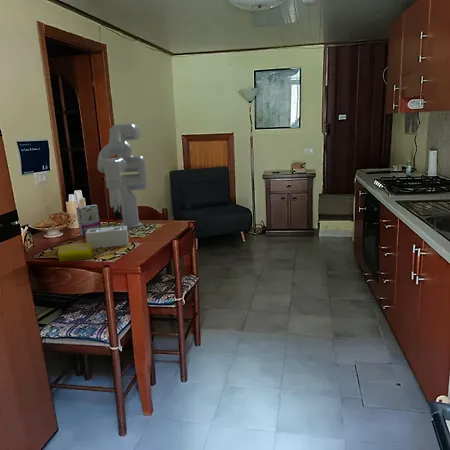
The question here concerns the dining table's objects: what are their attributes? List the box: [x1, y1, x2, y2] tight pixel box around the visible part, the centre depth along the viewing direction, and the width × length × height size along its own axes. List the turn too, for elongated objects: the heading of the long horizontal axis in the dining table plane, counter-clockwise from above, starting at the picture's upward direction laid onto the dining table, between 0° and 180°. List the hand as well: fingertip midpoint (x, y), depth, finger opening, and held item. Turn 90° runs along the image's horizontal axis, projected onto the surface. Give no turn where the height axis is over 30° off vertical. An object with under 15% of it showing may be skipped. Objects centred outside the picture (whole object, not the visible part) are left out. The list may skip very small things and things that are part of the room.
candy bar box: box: [75, 204, 102, 237], centre depth 237 cm, size 11×5×16 cm, turn 131°
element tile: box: [57, 242, 94, 263], centre depth 197 cm, size 15×15×5 cm
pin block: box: [85, 225, 129, 249], centre depth 214 cm, size 10×20×8 cm, turn 101°
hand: (118, 219), depth 213 cm, fingers closed
